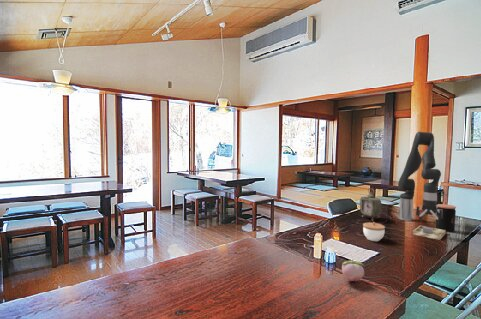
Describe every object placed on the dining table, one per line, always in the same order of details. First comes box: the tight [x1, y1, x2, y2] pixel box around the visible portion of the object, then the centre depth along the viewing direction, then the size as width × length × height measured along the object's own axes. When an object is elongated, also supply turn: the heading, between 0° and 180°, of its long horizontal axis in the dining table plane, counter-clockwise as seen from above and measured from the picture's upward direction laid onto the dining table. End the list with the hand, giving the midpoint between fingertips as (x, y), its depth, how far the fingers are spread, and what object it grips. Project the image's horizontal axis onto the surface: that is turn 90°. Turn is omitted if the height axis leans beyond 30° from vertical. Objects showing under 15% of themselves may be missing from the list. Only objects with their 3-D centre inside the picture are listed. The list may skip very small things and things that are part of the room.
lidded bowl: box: [362, 221, 386, 242], centre depth 175 cm, size 13×13×11 cm
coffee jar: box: [435, 203, 457, 233], centre depth 194 cm, size 11×11×18 cm
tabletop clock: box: [359, 188, 382, 222], centre depth 222 cm, size 14×9×25 cm, turn 17°
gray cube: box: [423, 226, 434, 235], centre depth 182 cm, size 4×4×5 cm
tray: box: [412, 225, 447, 241], centre depth 185 cm, size 15×18×3 cm
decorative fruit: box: [341, 259, 365, 282], centre depth 121 cm, size 9×8×10 cm
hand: (428, 223), depth 181 cm, fingers open, 8 cm apart
